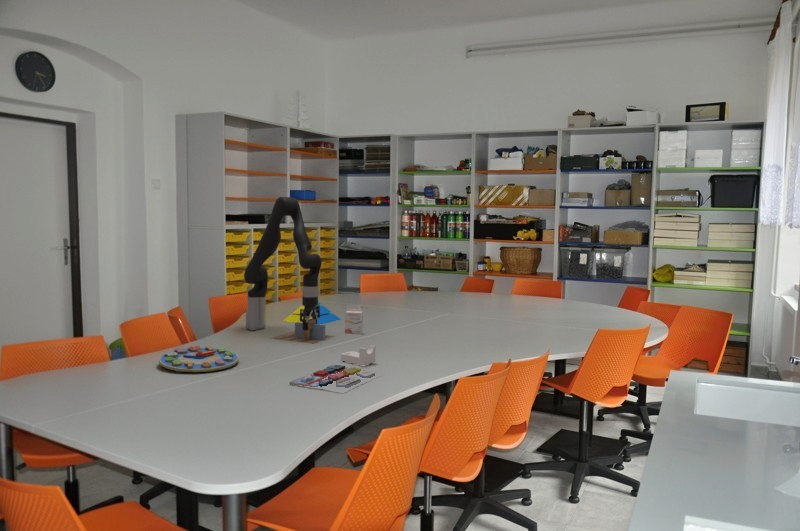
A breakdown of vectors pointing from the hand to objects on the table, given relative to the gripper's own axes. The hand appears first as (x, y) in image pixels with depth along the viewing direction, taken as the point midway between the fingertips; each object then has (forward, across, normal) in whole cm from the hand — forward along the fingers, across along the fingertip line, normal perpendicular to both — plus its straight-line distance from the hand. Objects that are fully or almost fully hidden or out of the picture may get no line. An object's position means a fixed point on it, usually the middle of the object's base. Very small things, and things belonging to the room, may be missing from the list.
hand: (309, 328), depth 311 cm
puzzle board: (+6, +56, +48) cm, 74 cm away
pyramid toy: (+7, -48, -29) cm, 56 cm away
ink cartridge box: (+6, -24, +11) cm, 27 cm away
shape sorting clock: (+6, +63, -12) cm, 64 cm away
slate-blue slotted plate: (+5, 0, 0) cm, 5 cm away
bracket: (+6, +29, +42) cm, 51 cm away
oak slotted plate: (+5, 0, 0) cm, 5 cm away
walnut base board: (+6, 0, -4) cm, 7 cm away
